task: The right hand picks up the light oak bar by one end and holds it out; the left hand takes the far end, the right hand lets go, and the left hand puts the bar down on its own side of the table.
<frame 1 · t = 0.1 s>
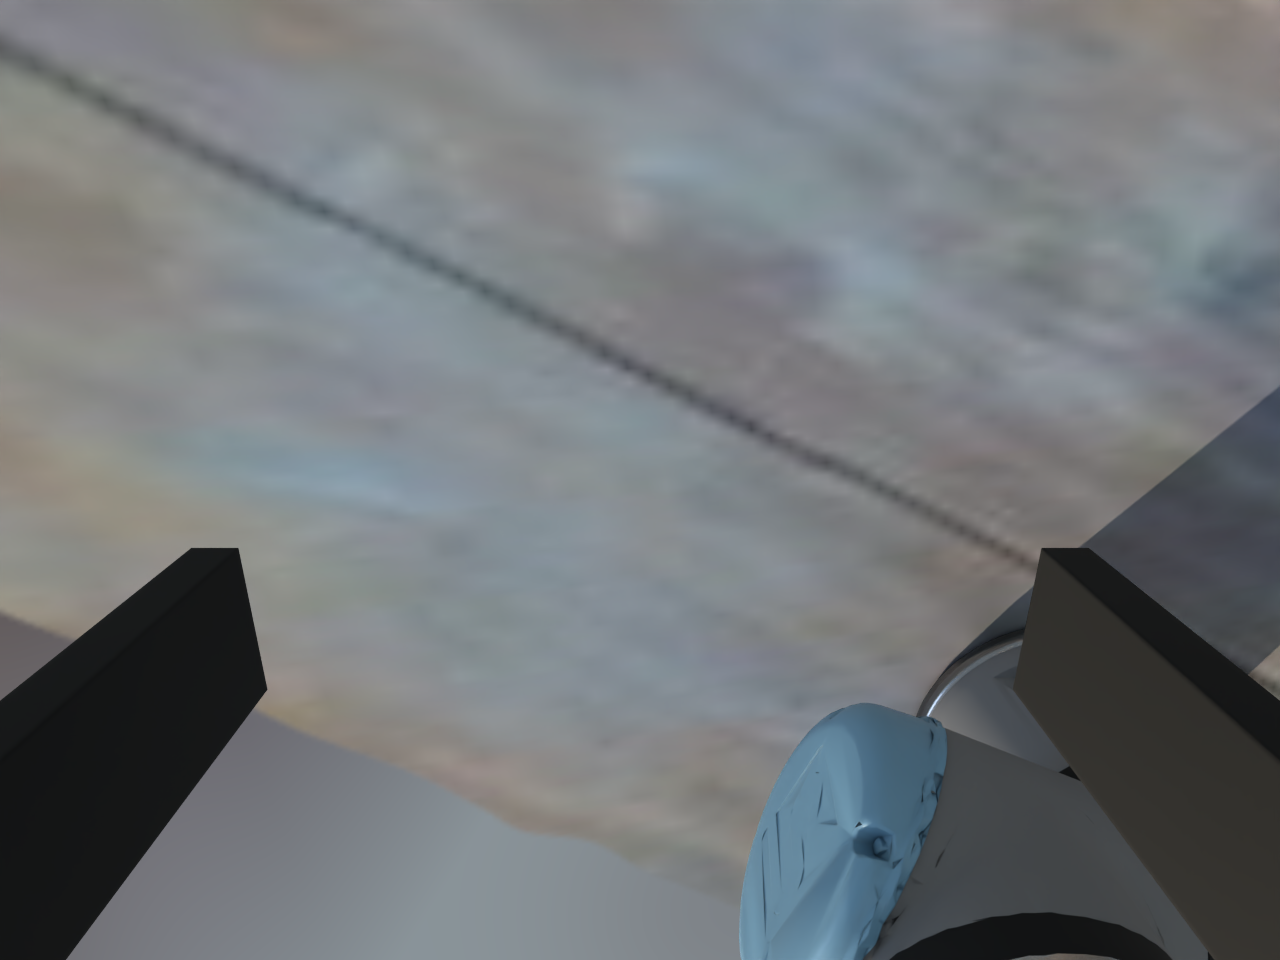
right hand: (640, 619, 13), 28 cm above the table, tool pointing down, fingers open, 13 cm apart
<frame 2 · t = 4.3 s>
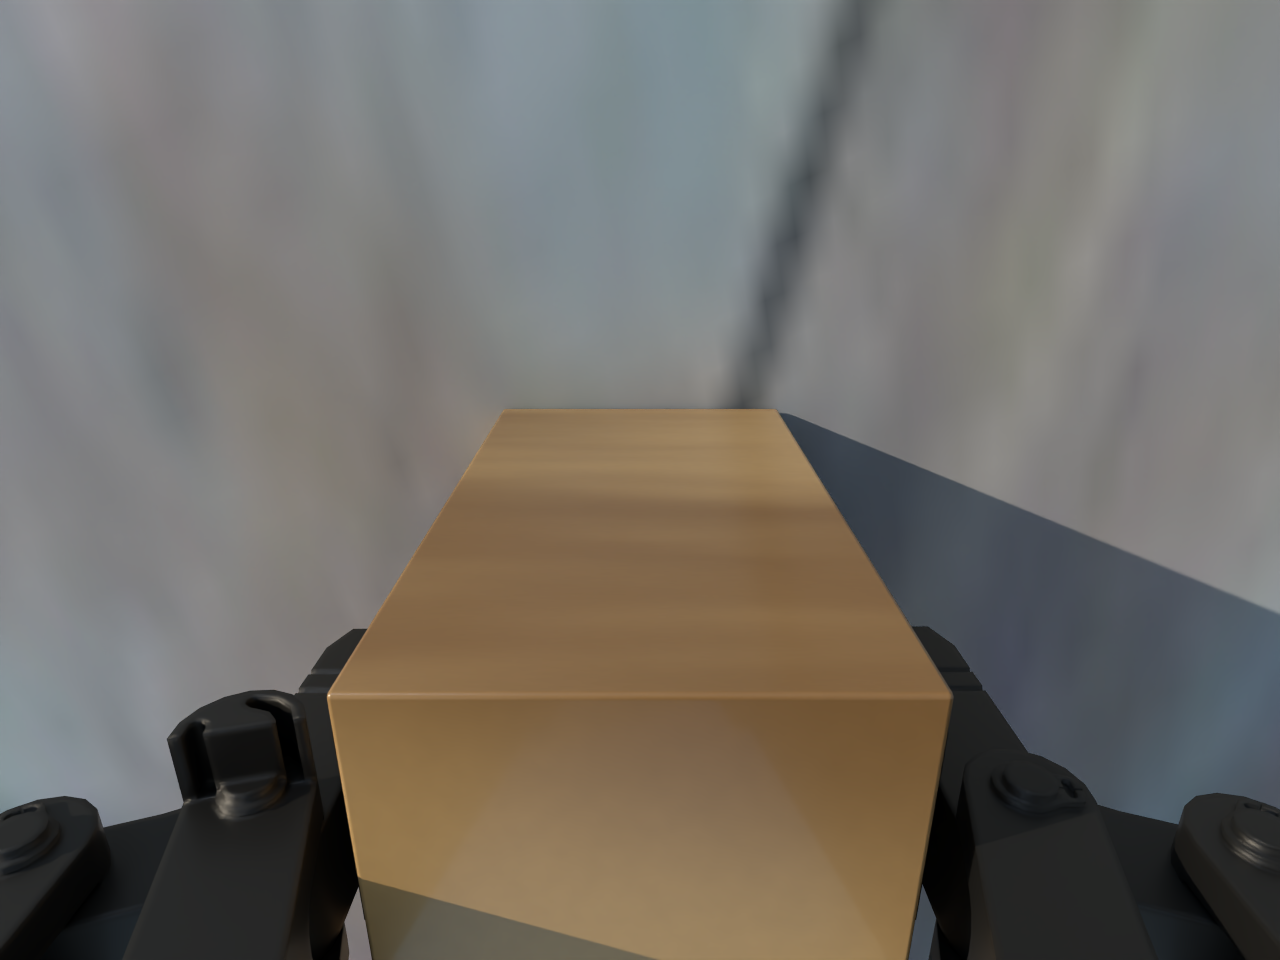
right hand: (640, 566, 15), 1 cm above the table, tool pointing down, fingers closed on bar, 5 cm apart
bar: (640, 880, 18), on the table, touching right hand
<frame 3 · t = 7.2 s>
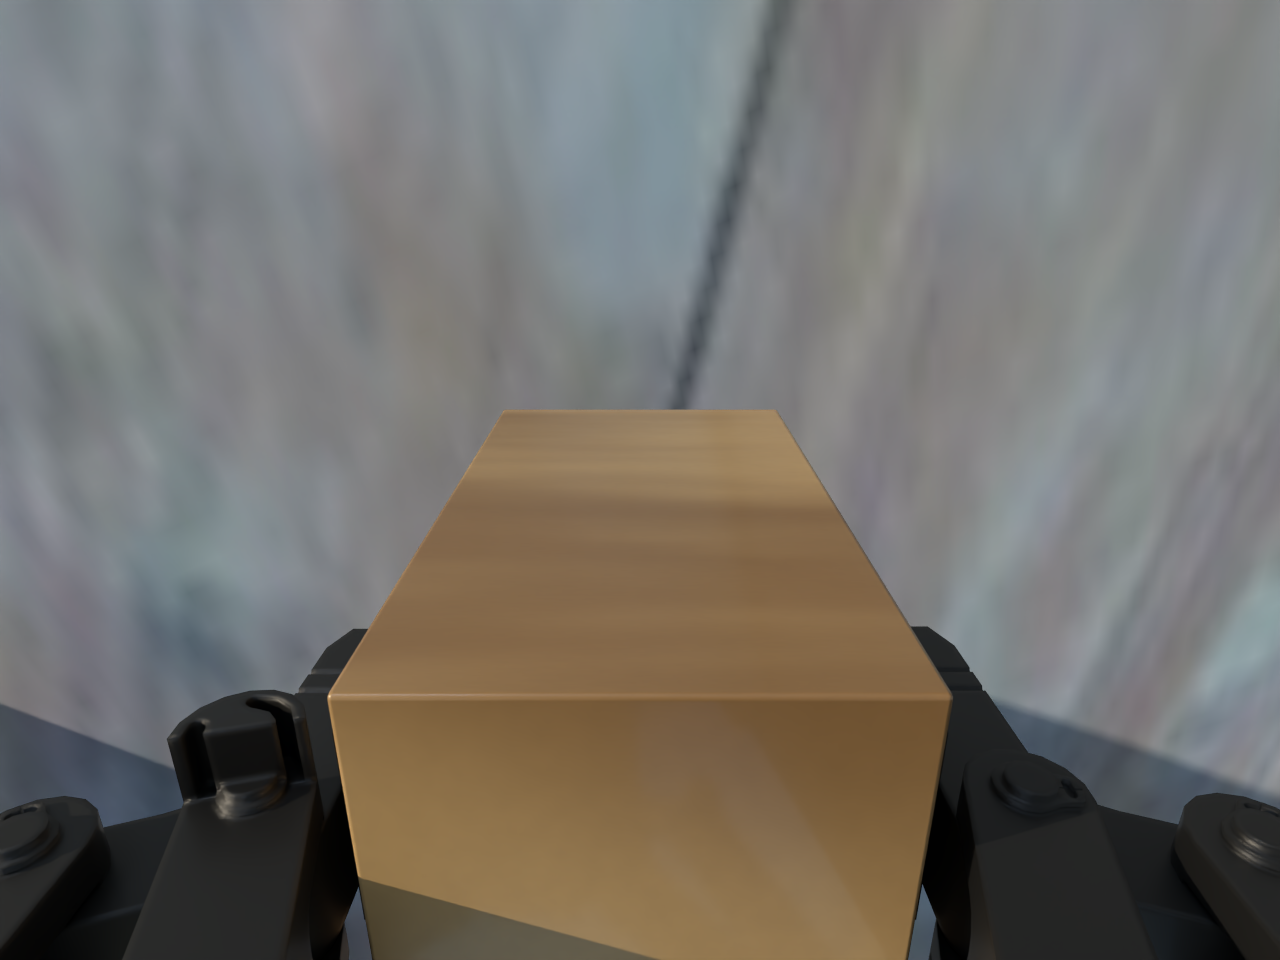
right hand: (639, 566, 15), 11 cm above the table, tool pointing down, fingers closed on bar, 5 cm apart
bar: (640, 880, 18), point 10 cm above the table, touching right hand
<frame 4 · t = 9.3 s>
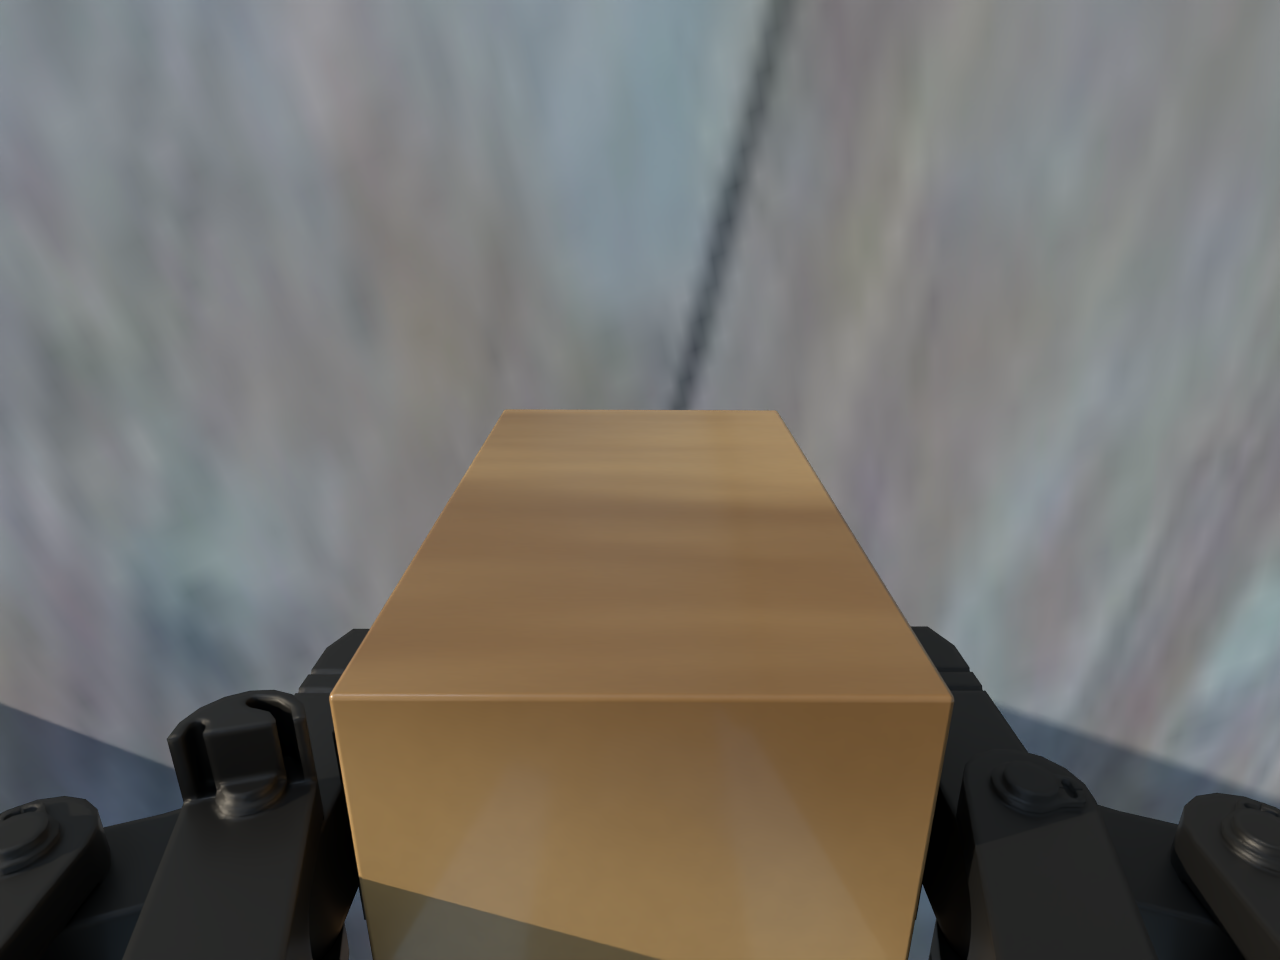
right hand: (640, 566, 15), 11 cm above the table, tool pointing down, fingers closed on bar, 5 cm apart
bar: (638, 879, 18), point 10 cm above the table, touching right hand, left hand
when the right hand's fingers open (11 cm above the table, at t = 10.0 s): bar stays where it is, held by the left hand.
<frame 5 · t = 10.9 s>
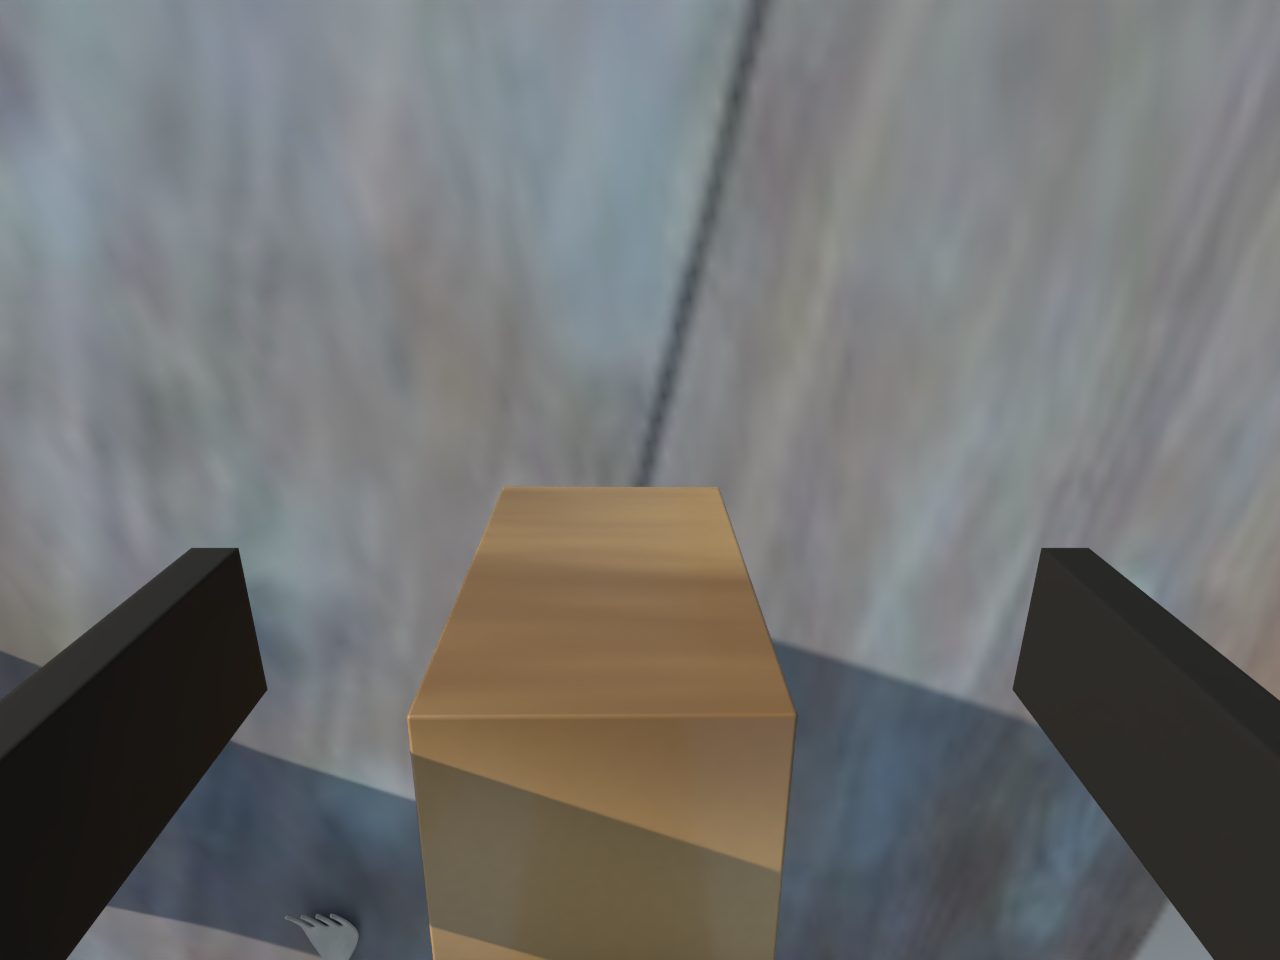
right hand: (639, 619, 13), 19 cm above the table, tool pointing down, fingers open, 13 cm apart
bar: (611, 868, 22), point 13 cm above the table, touching left hand
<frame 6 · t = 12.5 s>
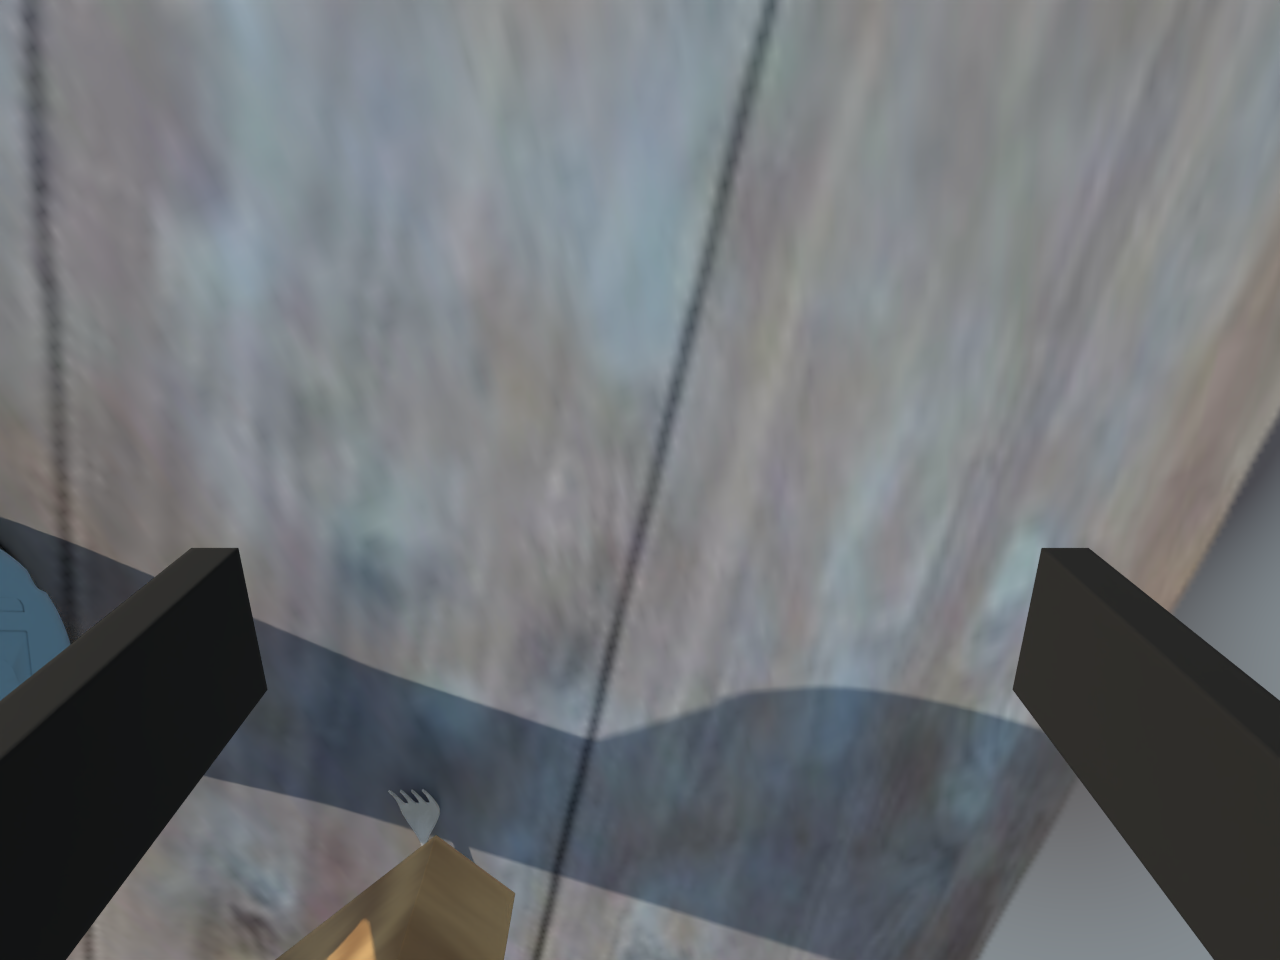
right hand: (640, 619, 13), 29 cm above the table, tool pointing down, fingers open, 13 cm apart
fork: (430, 858, 53), on the table
when the left hand's fingers open (2 cm above the table, at t = 16.1 s): bar drops 1 cm, on the table.
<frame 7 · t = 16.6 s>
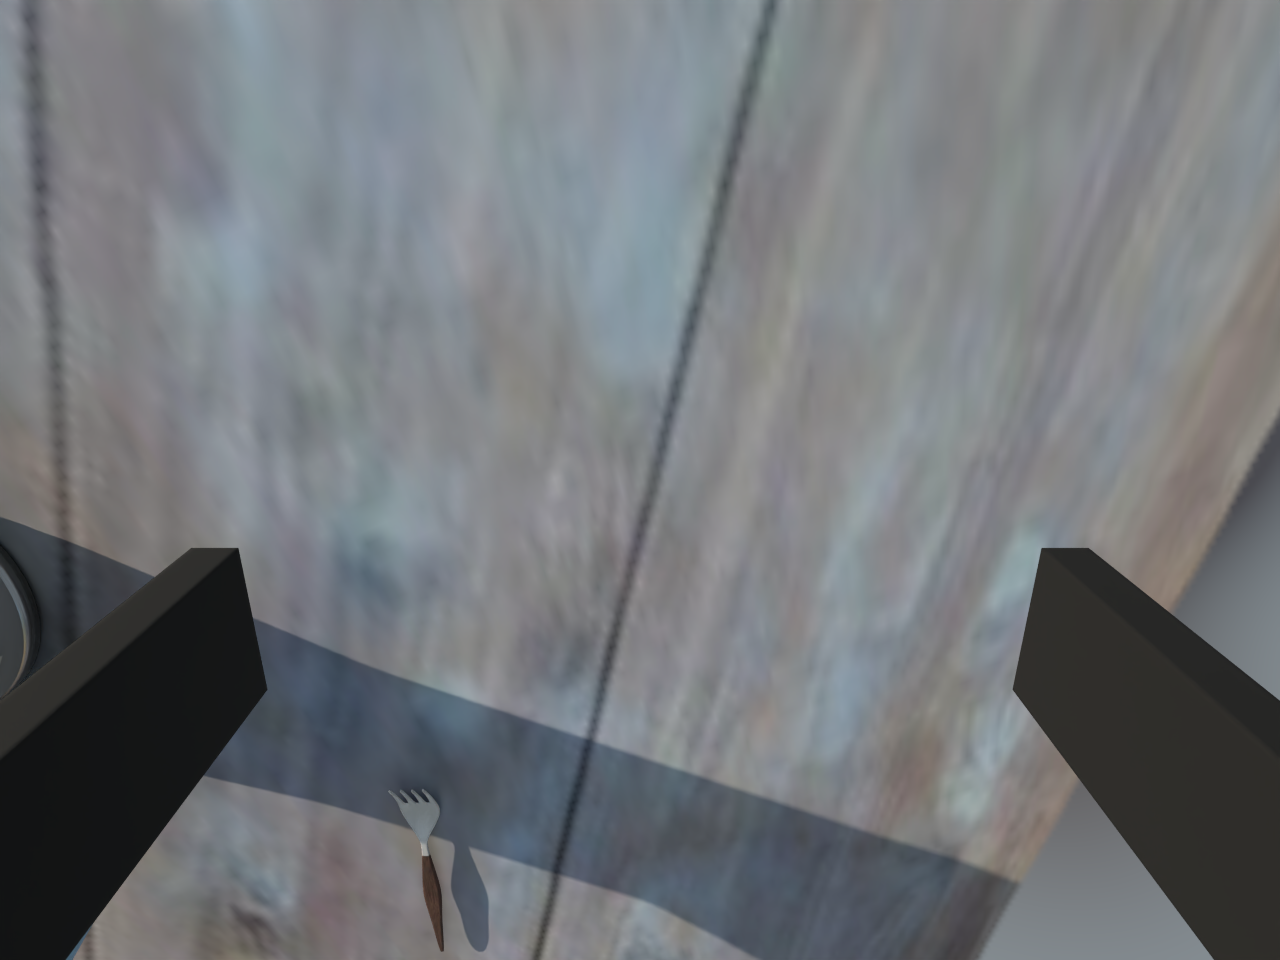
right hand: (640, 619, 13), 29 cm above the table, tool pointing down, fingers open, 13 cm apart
fork: (430, 858, 53), on the table
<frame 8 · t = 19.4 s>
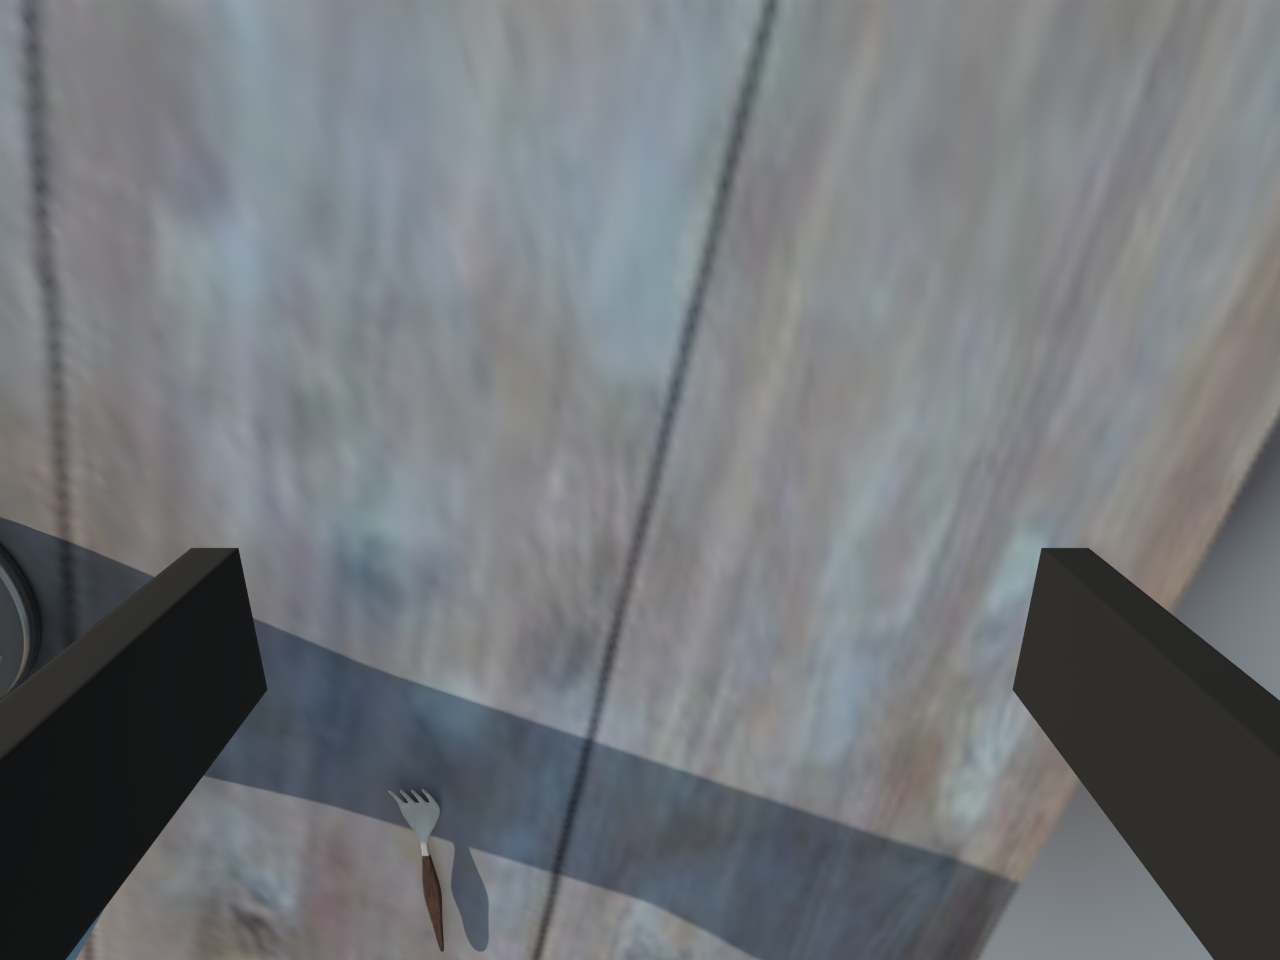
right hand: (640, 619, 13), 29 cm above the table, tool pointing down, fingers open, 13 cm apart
fork: (430, 858, 53), on the table
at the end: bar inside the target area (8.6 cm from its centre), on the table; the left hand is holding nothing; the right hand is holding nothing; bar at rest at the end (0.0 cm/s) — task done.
